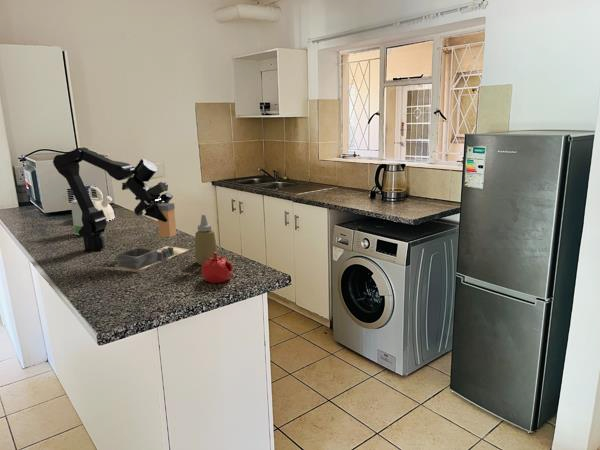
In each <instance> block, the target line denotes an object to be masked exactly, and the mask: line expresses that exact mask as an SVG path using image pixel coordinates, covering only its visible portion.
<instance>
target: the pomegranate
mask: <svg viewBox="0 0 600 450" xmlns="http://www.w3.org/2000/svg"><path fill="white" fill-rule="evenodd" d="M213 256H214V258H213V259H212V258H205V259H210V260H209V261H206V262H205V263H204V264H203V265H202V267H200V268H201V270H200V273H201V276H202V279H203V280H205V281H206V282H208V283H210V284H220V283H221V282H222V283H224V282H227V281H229V280H230V279H231V278H232V274H233V270H234V269H233V268H234V267H233V265H232V263H231V262H230V261H229V260H228V258H226V257H227V255H221V256H218V257H217V253H216V252H214V255H213Z"/></svg>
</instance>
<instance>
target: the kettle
mask: <svg viewBox="0 0 600 450" xmlns="http://www.w3.org/2000/svg"><path fill="white" fill-rule="evenodd" d="M85 188H86V190H87V189H89V190H90V189H93V190H94V191H96V192H97V193H98V197H90V198H91V200H95V207H96V209H97V210H103V212H104V215H105V217H106V218H107V219H106V221H108V222H110V221H109V220H111V221H113V220H115V219H116V216H115V212H114V209H113V207H112V206H111V204H110V203H111V202H112V201H113V198H112V197H111V196H109V195H106V197H105V198H104V195H103V193H102V190H100V188H98V187H96V186H94V185H86V186H85ZM70 195H71V196H74V194H73V192H72V193H70ZM114 218H115V219H114ZM112 219H113V220H112Z"/></svg>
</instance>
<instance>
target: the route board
mask: <svg viewBox="0 0 600 450" xmlns="http://www.w3.org/2000/svg"><path fill="white" fill-rule="evenodd" d="M190 250H191V249H190V248H183V247H176V246H168V245H167V246H164V247H161V248H158V249H150V248H145V247H143V248H141V247H135V248H133V249H132V248H131V249H129V250H126V251H123V252H121V253H118V254H116V262H117V264H115V265H114V269H116V270H121V271H129V272H134V273H139V274H141V273H144V272H146V271H148V270H150V268H149V267H152V266H154V265H157V264H159V263H161V262H163V261H167V260H169V259H171V258H173V257H175V256H178V255H181V254H183V253H186V252H189V251H190Z"/></svg>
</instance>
